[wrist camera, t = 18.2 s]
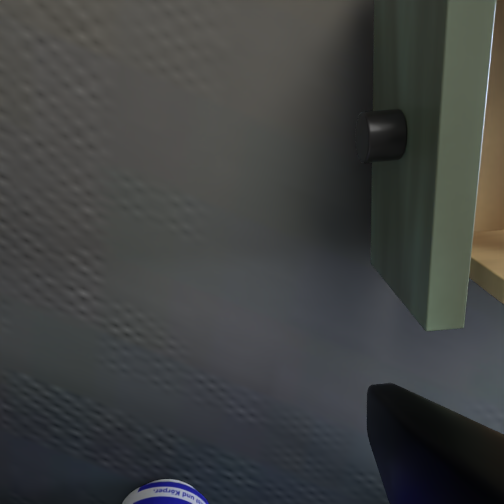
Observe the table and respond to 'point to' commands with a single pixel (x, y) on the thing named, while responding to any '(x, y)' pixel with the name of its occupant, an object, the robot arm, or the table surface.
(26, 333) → the table surface
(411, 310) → the drawer
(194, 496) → the beverage can
